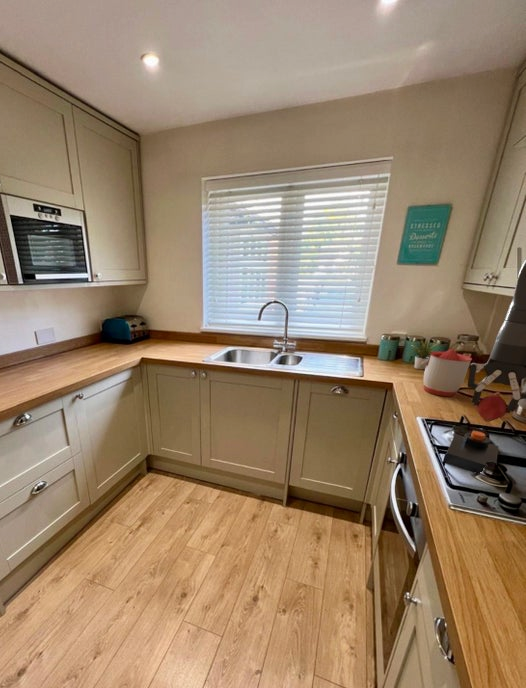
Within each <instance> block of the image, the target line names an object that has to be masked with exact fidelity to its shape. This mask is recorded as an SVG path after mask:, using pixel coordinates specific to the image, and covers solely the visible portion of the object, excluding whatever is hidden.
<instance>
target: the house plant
mask: <svg viewBox="0 0 526 688" xmlns="http://www.w3.org/2000/svg"><path fill="white" fill-rule="evenodd" d="M417 343H418V344H419V345H418V346H419V347H417V346H415V345H413V344H410V346H411V347H412V348H414V350H415V351H416V353H418V355H415V357H414V369H417V370H425V369H426V364H422V362H423V361H424V360H426V359H429V357H430V354H431V352H434V351H433V349H435V348H436V346H438V345H439V344H440V342H436V341H434V342H433V344H432V343H431V342H429V340H428V339H426V340H425V343H424V342H423V341H419V340H417ZM431 345H432V346H431Z"/></svg>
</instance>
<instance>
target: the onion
mask: <svg viewBox="0 0 526 688" xmlns="http://www.w3.org/2000/svg"><path fill="white" fill-rule="evenodd" d="M507 407H508V404H507V402H506V400H505V399H504V398H503V397H502V396H501V393H500V392H498V391H496V392H494V393H492V394H488V395H486V396H484V397H482V398H480V399H479V402H478V404H477V406H476V412H477V413H478V416H479V417H481V418H482V420H483V421H485V422H487V423H490V422H493V421H495V420H498V419H501V418H503V417H504V416H505V415H506V414H507V413H506V411H507Z"/></svg>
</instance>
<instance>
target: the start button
mask: <svg viewBox="0 0 526 688" xmlns="http://www.w3.org/2000/svg"><path fill="white" fill-rule="evenodd" d="M471 433H472V434H471V436H470V437H471V438H473V439H476V440H481V441H483V440H484V438H485V437H486V434H485V433H484V432H482V431H478V430H473V431H471Z"/></svg>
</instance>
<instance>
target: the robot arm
mask: <svg viewBox="0 0 526 688" xmlns="http://www.w3.org/2000/svg"><path fill="white" fill-rule="evenodd" d="M482 369H483V371H484V372H485V374H486V376H485V377H484V378H483V379H482V380H481V381H480V382H479V383H476V382H475V381H476V376H477V374H478V373H480V372H481V370H482ZM525 378H526V258H525V259H524V261H523V262H522V264H521V267H520V270H519V273H518V276H517V279H516V283H515V288H514V294H513V297H512V299H511V302H510V304H509V306H508V309H507V311H506V314H505V317H504V320H503V322H502V324H501V326H500V328H499V330H498V333H497V334H496V337H495V341H494V344H493V347H492V348H491V352H490V355H489V357H488V360H487V361H486V362H485V363H477V362H472V363H470V365H469V374H468V378H467V388H470V389H472V390H474V392H473V395H472V398H471V403H472V404H473V406H474V407H477V404H478V402H479V401H480V400H481V396H482V393H483V390H484V389H485V388H486V387H487V386H489V385H490V384H491V383H493V384H502V385H504V386H510V388H511V393H512V396H511V397H510V400H509V402H508V404H507V411H506V413H505V414H510V413H511V412H512V413H514V412H515V411H516V409H517V406H518V404H519V402H520V401H521V400H526V391H524V392H523V391H522V392H521V391H520V386H519V382H521V381H522V380H524V379H525Z"/></svg>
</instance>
